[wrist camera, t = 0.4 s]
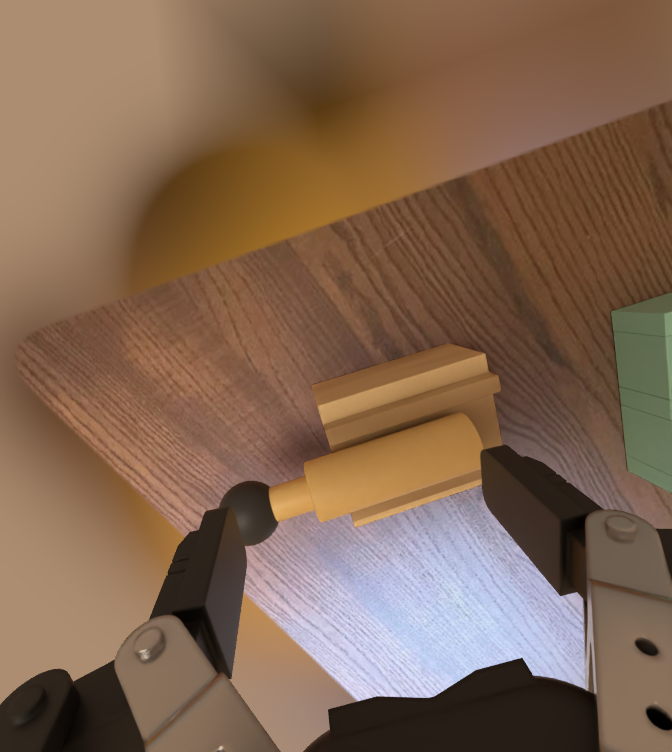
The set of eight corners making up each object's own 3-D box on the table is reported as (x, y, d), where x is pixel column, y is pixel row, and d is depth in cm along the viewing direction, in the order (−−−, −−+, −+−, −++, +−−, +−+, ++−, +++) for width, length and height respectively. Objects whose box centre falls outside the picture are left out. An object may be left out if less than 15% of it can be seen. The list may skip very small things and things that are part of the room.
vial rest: (310, 385, 26) (319, 411, 20) (448, 342, 26) (495, 355, 20) (342, 487, 27) (358, 538, 22) (470, 445, 28) (518, 483, 22)
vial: (234, 530, 22) (225, 568, 18) (215, 481, 21) (202, 511, 18) (462, 455, 22) (490, 478, 19) (451, 405, 22) (478, 421, 19)
